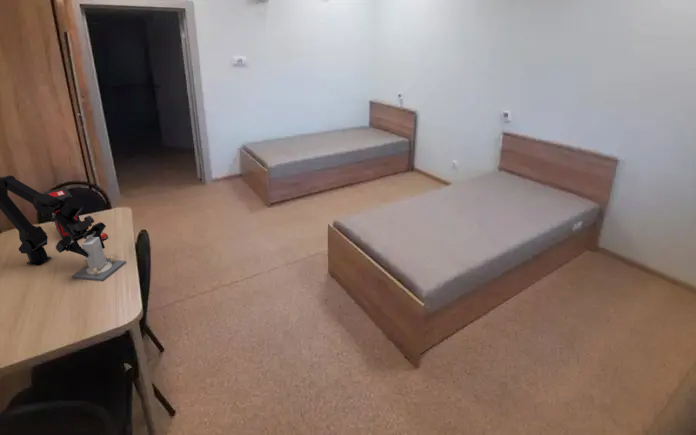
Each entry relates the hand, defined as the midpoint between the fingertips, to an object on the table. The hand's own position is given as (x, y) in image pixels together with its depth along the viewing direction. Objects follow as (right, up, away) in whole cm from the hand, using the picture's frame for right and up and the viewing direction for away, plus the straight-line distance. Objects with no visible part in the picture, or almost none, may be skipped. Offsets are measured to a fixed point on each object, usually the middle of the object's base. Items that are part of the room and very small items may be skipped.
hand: (96, 252), depth 161 cm
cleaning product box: (-36, +7, +36) cm, 51 cm away
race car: (-20, +4, +31) cm, 36 cm away
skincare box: (-1, -6, +3) cm, 7 cm away
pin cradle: (-1, -8, +4) cm, 9 cm away
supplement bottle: (-13, 0, +21) cm, 25 cm away
